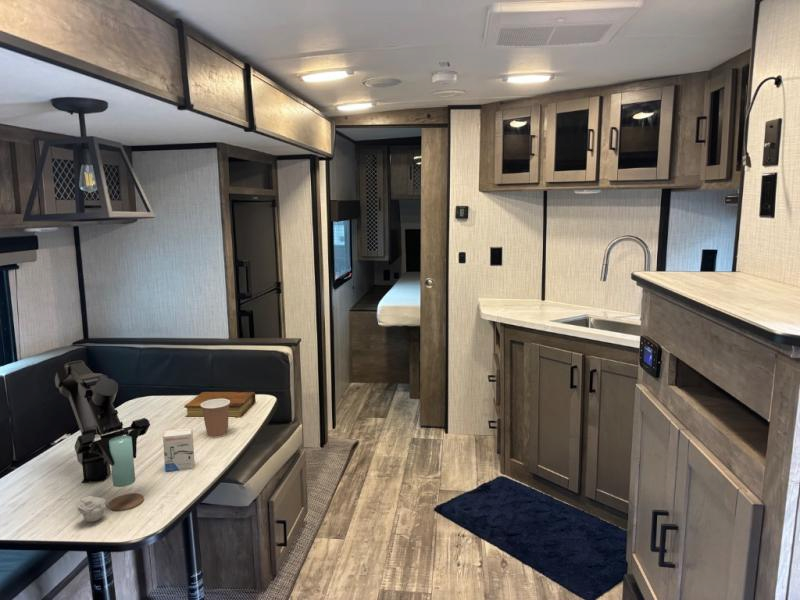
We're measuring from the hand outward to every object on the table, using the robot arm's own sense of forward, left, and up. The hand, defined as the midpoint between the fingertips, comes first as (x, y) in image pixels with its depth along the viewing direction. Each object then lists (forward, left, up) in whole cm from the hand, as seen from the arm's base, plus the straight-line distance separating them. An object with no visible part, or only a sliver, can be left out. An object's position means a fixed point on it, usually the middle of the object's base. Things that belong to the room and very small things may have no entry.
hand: (124, 461), depth 152 cm
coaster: (-1, +1, -13) cm, 13 cm away
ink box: (+9, +23, -13) cm, 27 cm away
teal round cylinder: (-1, +1, -7) cm, 7 cm away
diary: (+13, +77, -13) cm, 80 cm away
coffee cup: (+16, +50, -13) cm, 54 cm away
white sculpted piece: (-6, -7, -13) cm, 16 cm away
